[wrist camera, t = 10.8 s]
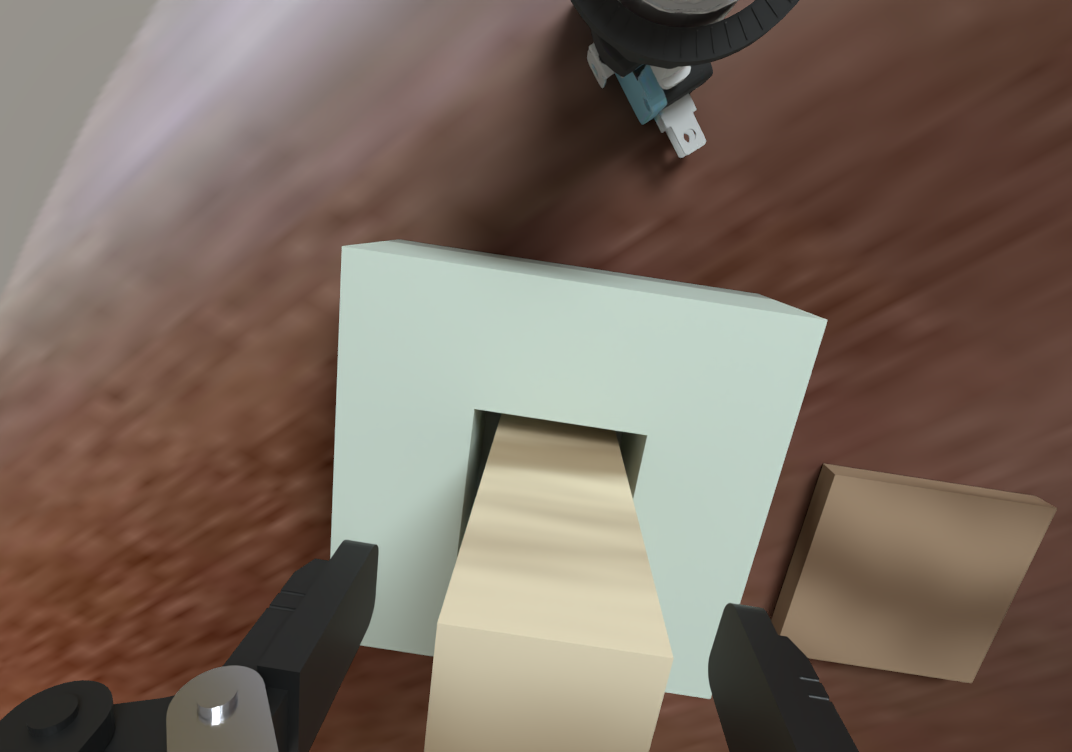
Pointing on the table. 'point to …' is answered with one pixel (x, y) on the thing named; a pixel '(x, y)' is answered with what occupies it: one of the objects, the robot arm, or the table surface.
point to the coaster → (906, 571)
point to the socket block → (559, 418)
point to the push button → (670, 52)
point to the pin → (550, 605)
